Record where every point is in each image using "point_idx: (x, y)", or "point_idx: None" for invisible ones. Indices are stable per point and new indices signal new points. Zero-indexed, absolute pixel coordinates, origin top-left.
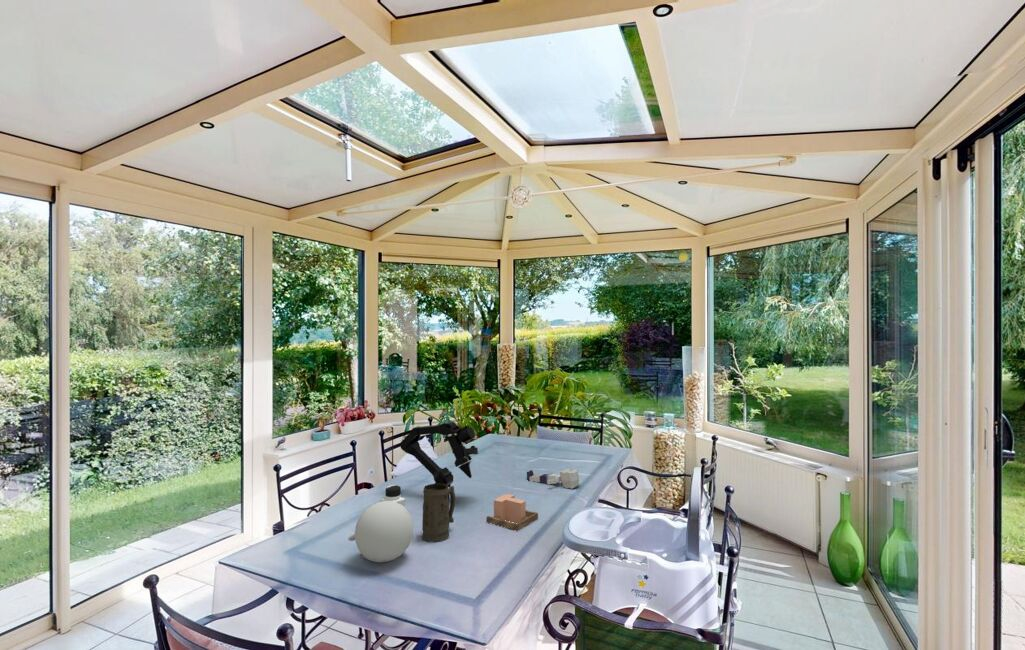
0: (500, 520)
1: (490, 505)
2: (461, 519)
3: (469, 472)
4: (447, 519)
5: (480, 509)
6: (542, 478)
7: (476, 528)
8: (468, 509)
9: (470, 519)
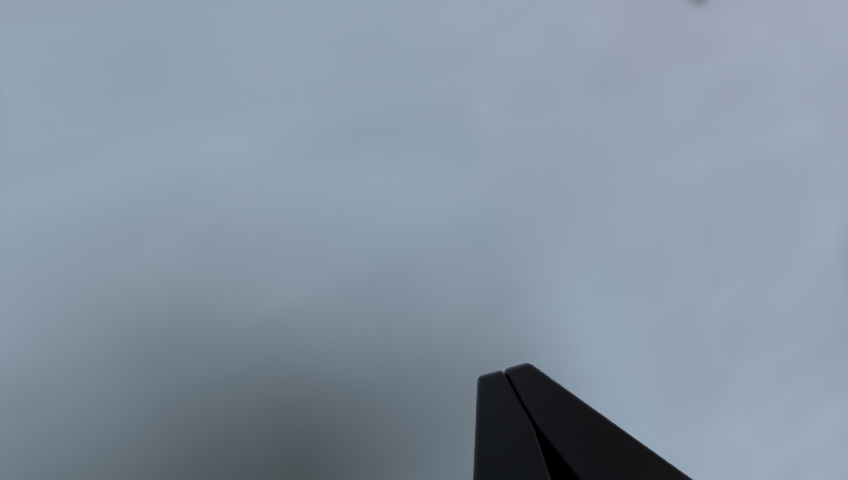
0: None
1: (246, 63)
2: (695, 249)
3: (657, 473)
4: None
5: (412, 150)
6: None
7: (816, 54)
8: (449, 285)
9: (676, 166)
